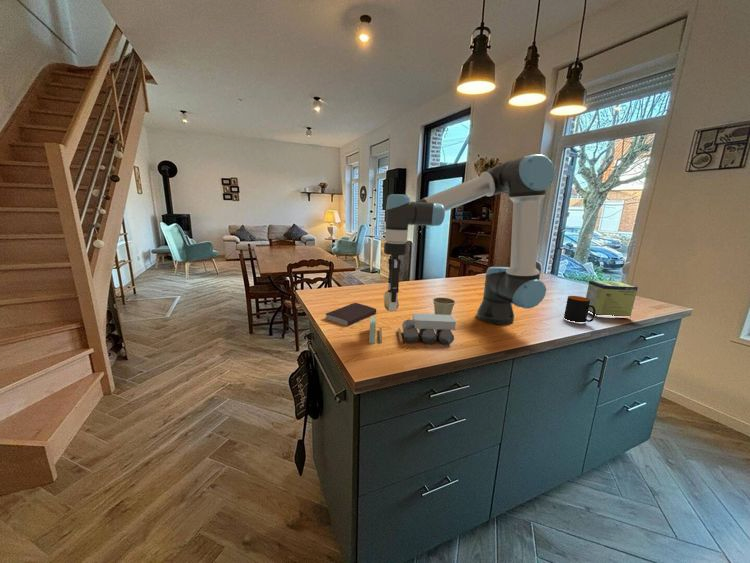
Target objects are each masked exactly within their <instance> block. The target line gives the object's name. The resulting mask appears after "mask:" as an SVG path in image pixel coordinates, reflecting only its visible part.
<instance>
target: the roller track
mask: <svg viewBox="0 0 750 563" xmlns="http://www.w3.org/2000/svg"><path fill="white" fill-rule="evenodd" d="M401 327H402V328H400V327H398V328H397V332H398V339H399V344H400V345H402V344H404V342H403V338H404V340H405V342H407V343H408V344H410V345H411V344H416V343H417V342H418V341H419V339H420V337H421V339H422V343H424V344H426V345H432V344H434V343H435V342H436V341H437V338H438V340H439V342H440V343H441V344H442V345H444V346H445V345H446V346H448V345H450V344H452V343H453V342H454V340H455V337H454V333H453V332H452V330H441V329H416V328H414V325H413V322H412V319H406V320H404V321H403V322H402V324H401ZM401 329H402V331H401ZM378 331H379V334H378V335H379V344H382V343H383V329H382V327H379V330H378ZM402 333H403V335H402Z"/></svg>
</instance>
